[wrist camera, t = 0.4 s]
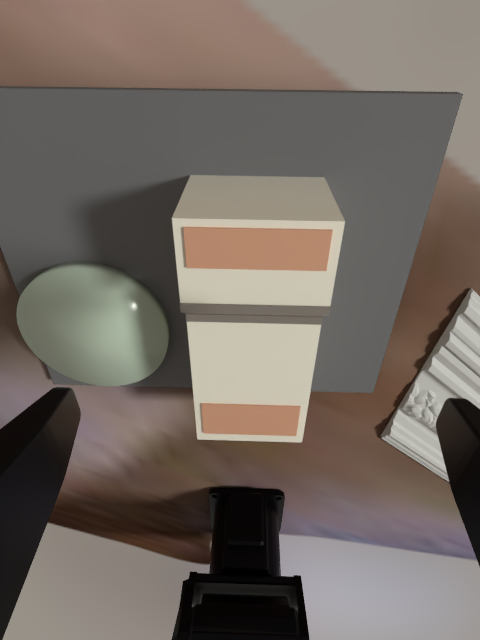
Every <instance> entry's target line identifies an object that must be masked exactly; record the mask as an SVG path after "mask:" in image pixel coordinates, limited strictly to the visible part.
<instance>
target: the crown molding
mask: <svg viewBox="0 0 480 640" xmlns="http://www.w3.org/2000/svg"><path fill="white" fill-rule="evenodd" d="M448 398H465V399H467V400H469V401H470V402H471V403H473V404H474V405H475V406H477V407H478V408H479V409H480V296H479V295H478V294H477V293H476V292H475V291H474V290H473V289H472V288H470V290H469V292H468V293H467V295H466V297H465V298H464V300H463V301H462V303H461V305H460V306H459V308H458V310H457V311H456V313H455V315H454V316H453V318H452V319H451V321H450V323H449V324H448V326H447V328H446V329H445V331H444V333H443V334H442V336H441V338H440V339H439V341H438V342H437V344H436V346H435V347H434V349H433V351H432V352H431V354H430V356H429V357H428V359H427V360H426V362H425V364H424V365H423V367H422V369H421V370H420V372H419V374H418V375H417V377H416V379H415V380H414V382H413V383H412V385H411V387H410V388H409V390H408V392H407V393H406V395H405V397H404V398H403V400H402V401H401V403H400V405H399V406H398V408H397V410H396V411H395V413H394V415H393V416H392V418H391V419H390V421H389V423H388V424H387V426H386V428H385V429H384V431H383V433H382V434H381V438H382V439H383V440H385V441H386V442H388V443H389V444H391V445H392V446H394V447H395V448H397V449H399V450H400V451H402V452H403V453H405V454H406V455H408V456H409V457H411V458H412V459H414V460H416V461H417V462H419V463H420V464H422V465H423V466H425V467H426V468H428V469H429V470H431V471H433V472H434V473H436V474H437V475H439V476H440V477H442V478H443V479H445V480H446V481H448V482H449V479H448V475H447V471H446V467H445V463H444V459H443V455H442V451H441V447H440V443H439V439H438V435H437V431H436V420H437V417H438V415H439V413H440V411H441V409H442V407H443V404H444V402H445V401H446V400H447V399H448Z"/></svg>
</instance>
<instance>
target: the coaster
mask: <svg viewBox="0 0 480 640" xmlns="http://www.w3.org/2000/svg"><path fill="white" fill-rule="evenodd" d="M17 323H18V327H19V330H20V333H21V335H22V337H23V339H24V341H25V342H26V344H27V345H28V347H29V348H30V349H31V350H32V351H33V353H34V354H35V355H36V356H37V357H38V358H39V359H40V360H42V361H43V362H44V363H45V364H47V365H48V366H49V367H51V368H52V369H54V370H55V371H57V372H59V373H61V374H63V375H65V376H67V377H69V378H72V379H74V380H77V381H80V382H84V383H88V384H92V385H99V386H121V385H127V384H131V383H135V382H137V381H140V380H142V379H144V378H146V377H148V376H149V375H150V374H152V373H153V372H154V371H155V370H156V369H157V368H158V367H159V366H160V364H161V363H162V361H163V359H164V357H165V354H166V351H167V347H168V344H169V338H170V327H169V322H168V318H167V315H166V313H165V311H164V309H163V307H162V305H161V304H160V302H159V301H158V299H157V298H156V297H155V296H154V295H153V293H152V292H151V291H150V290H149V289H148V288H147V287H145V286H144V285H143V284H142V283H141V282H139V281H138V280H136V279H135V278H133V277H132V276H130V275H128V274H126V273H124V272H122V271H120V270H118V269H115V268H113V267H109V266H106V265H103V264H98V263H93V262H68V263H62V264H58V265H55V266H52V267H50V268H48V269H46V270H44V271H43V272H41V273H40V274H38V275H37V276H36V277H35V278H34V279H33V280H32V281H31V282H30V284H29V285H28V286H27V287H26V288H25V290H24V291H23V293H22V294H21V296H20V298H19V301H18V305H17Z"/></svg>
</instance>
